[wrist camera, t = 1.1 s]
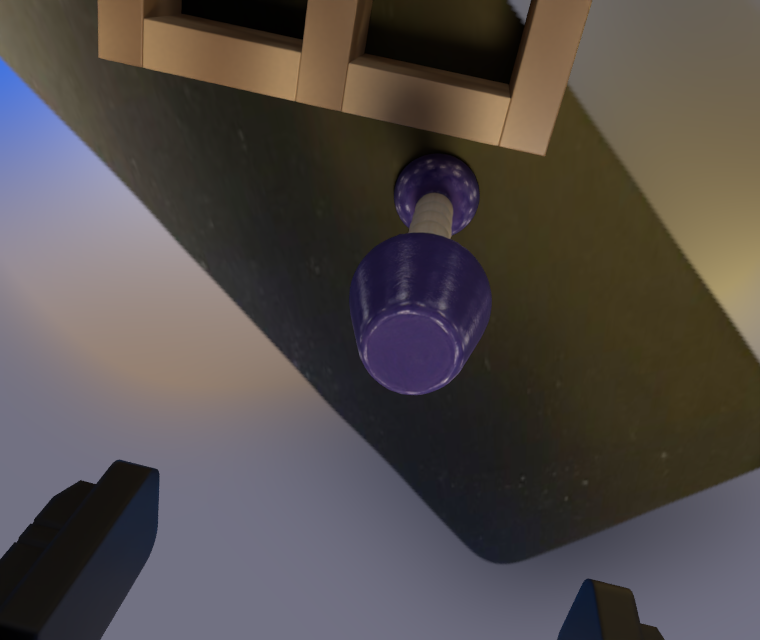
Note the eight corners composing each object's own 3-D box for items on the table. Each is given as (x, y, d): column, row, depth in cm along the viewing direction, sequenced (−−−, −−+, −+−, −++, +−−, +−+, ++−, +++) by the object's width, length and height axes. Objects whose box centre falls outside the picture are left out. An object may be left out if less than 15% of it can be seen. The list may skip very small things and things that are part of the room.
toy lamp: (420, 127, 32) (361, 253, 18) (507, 168, 32) (522, 325, 18) (381, 214, 34) (301, 390, 20) (463, 252, 35) (444, 453, 20)
